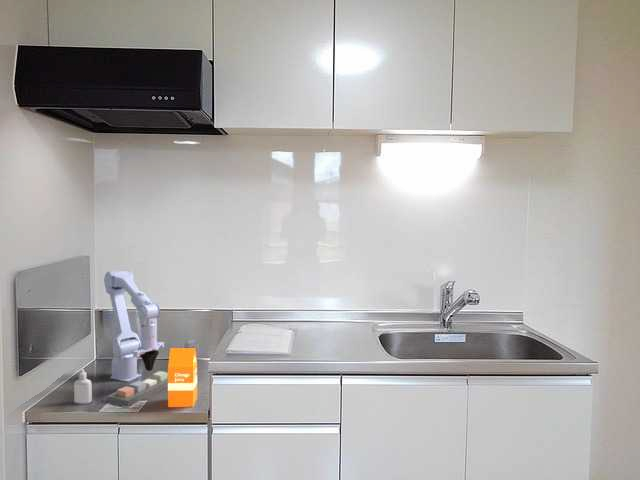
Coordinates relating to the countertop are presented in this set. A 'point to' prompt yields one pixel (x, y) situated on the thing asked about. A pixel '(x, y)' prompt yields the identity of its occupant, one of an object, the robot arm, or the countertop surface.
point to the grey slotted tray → (138, 393)
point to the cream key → (150, 382)
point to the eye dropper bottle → (82, 389)
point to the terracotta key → (125, 392)
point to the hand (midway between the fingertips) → (149, 370)
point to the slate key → (138, 386)
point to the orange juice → (182, 377)
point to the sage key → (160, 376)
